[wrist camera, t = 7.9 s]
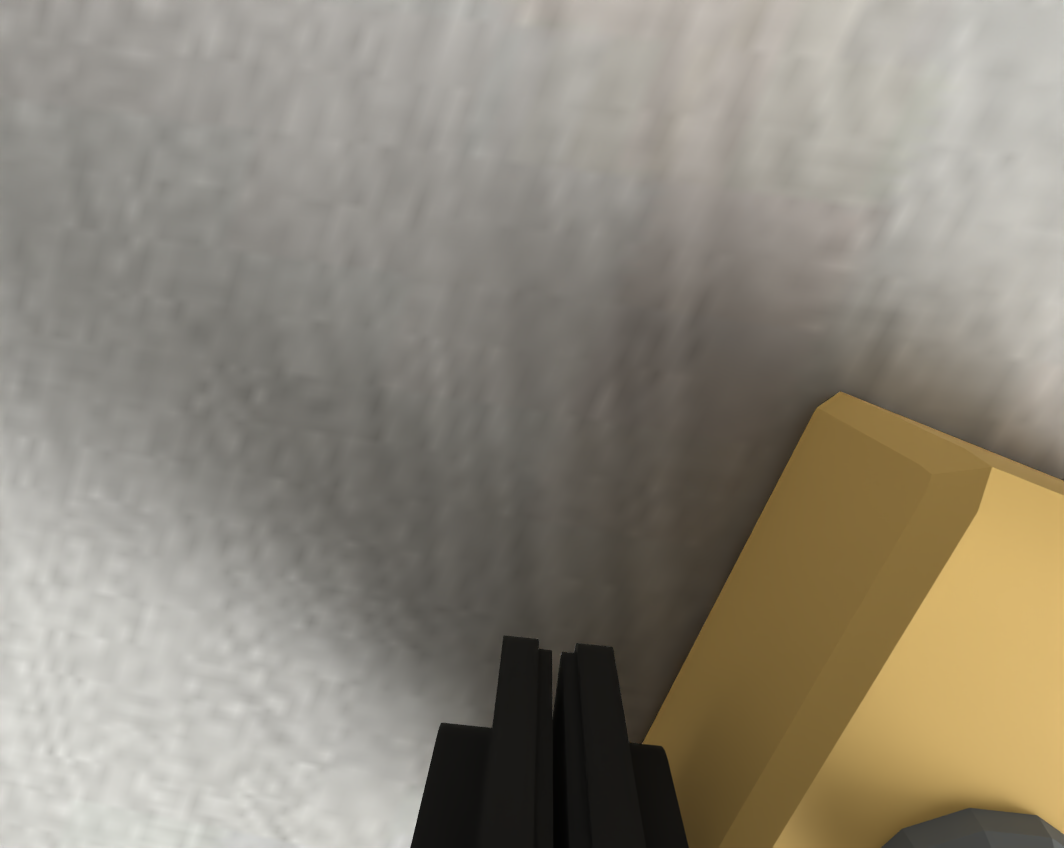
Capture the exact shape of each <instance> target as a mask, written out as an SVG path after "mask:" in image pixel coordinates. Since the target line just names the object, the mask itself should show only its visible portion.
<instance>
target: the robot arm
mask: <svg viewBox="0 0 1064 848" xmlns="http://www.w3.org/2000/svg"><path fill="white" fill-rule="evenodd" d="M411 848H689V846H688V842H687V838H686V833H685V829H684V825H683V821H682V817H681V812H680V808H679V804H678V800H677V796H676V792H675V787H674V783H673V779H672V775H671V771H670V766H669V762H668V758H667V755H666V752H665V750H664V748H663V747H662V746H657V745H648V744H638V743H629V741H628V735H627V729H626V723H625V717H624V711H623V705H622V699H621V693H620V687H619V681H618V675H617V669H616V663H615V657H614V651H613V648H612V647H608V646H599V645H589V644H579V643H577V644H576V646H575V650H574V653H570V652H562V653H561V658H560V665H559V673H558V681H557V689H556V697H555V704H554V712H553V720H552V650H543V649H539V639H533V638H523V637H514V636H504V637H503V645H502V653H501V661H500V669H499V678H498V686H497V694H496V702H495V710H494V719H493V727H492V728H487V727H477V726H468V725H458V724H449V723H441V724H440V727H439V730H438V734H437V738H436V742H435V747H434V751H433V755H432V759H431V763H430V768H429V772H428V776H427V780H426V785H425V789H424V793H423V797H422V801H421V806H420V810H419V814H418V818H417V823H416V827H415V831H414V835H413V839H412V844H411Z"/></svg>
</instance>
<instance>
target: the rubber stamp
mask: <svg viewBox="0 0 1064 848" xmlns="http://www.w3.org/2000/svg"><path fill="white" fill-rule="evenodd" d="M642 744H648V745H657V746H662V747H663V748H664V750H665V752H666V755H667V758H668V762H669V766H670V771H671V775H672V779H673V783H674V787H675V792H676V796H677V800H678V804H679V808H680V812H681V817H682V821H683V825H684V829H685V833H686V838H687V842H688V846H689V848H1064V481H1063V480H1060V479H1058V478H1055V477H1053V476H1050V475H1048V474H1045V473H1043V472H1040V471H1038V470H1035V469H1033V468H1030V467H1028V466H1026V465H1023V464H1021V463H1018V462H1016V461H1013V460H1011V459H1008V458H1006V457H1003V456H1001V455H998V454H996V453H993V452H991V451H988V450H986V449H983V448H981V447H978V446H976V445H973V444H971V443H968V442H966V441H963V440H961V439H958V438H956V437H953V436H951V435H948V434H946V433H943V432H941V431H938V430H936V429H933V428H931V427H928V426H926V425H923V424H921V423H918V422H916V421H913V420H911V419H908V418H906V417H903V416H901V415H898V414H896V413H893V412H891V411H888V410H886V409H883V408H881V407H878V406H876V405H873V404H871V403H868V402H866V401H863V400H861V399H858V398H856V397H853V396H851V395H848V394H846V393H843V392H841V391H840V392H839V393H837V394H836V395H834V396H833V397H831V398H830V399H828V400H827V401H826V402H824V403H823V404H821V405H820V406H818V407H817V408H816V410H815V411H814V413H813V415H812V417H811V419H810V421H809V422H808V424H807V426H806V428H805V430H804V432H803V434H802V436H801V438H800V440H799V442H798V444H797V446H796V448H795V450H794V451H793V453H792V455H791V457H790V459H789V461H788V463H787V465H786V467H785V469H784V471H783V473H782V475H781V477H780V479H779V480H778V482H777V484H776V486H775V488H774V490H773V492H772V494H771V496H770V498H769V500H768V502H767V504H766V506H765V507H764V509H763V511H762V513H761V515H760V517H759V519H758V521H757V523H756V525H755V527H754V529H753V531H752V533H751V535H750V536H749V538H748V540H747V542H746V544H745V546H744V548H743V550H742V552H741V554H740V556H739V558H738V560H737V562H736V563H735V565H734V567H733V569H732V571H731V573H730V575H729V577H728V579H727V581H726V583H725V585H724V587H723V589H722V591H721V592H720V594H719V596H718V598H717V600H716V602H715V604H714V606H713V608H712V610H711V612H710V614H709V616H708V618H707V619H706V621H705V623H704V625H703V627H702V629H701V631H700V633H699V635H698V637H697V639H696V641H695V643H694V645H693V647H692V648H691V650H690V652H689V654H688V656H687V658H686V660H685V662H684V664H683V666H682V668H681V670H680V672H679V674H678V675H677V677H676V679H675V681H674V683H673V685H672V687H671V689H670V691H669V693H668V695H667V697H666V699H665V701H664V703H663V704H662V706H661V708H660V710H659V712H658V714H657V716H656V718H655V720H654V722H653V724H652V726H651V728H650V730H649V731H648V733H647V735H646V737H645V739H644V741H643V743H642Z"/></svg>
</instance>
